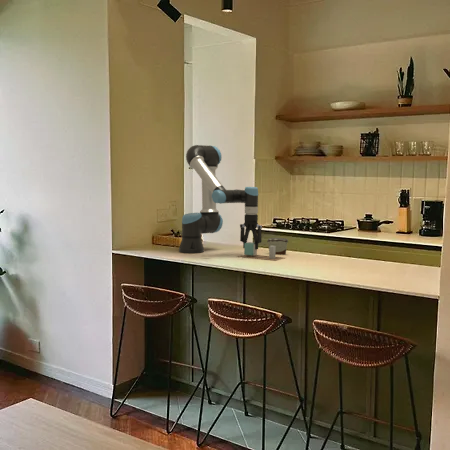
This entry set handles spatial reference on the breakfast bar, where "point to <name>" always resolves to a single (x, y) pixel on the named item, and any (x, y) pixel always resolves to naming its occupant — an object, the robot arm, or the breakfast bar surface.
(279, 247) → the food container
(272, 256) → the post
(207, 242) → the breakfast bar surface
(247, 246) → the teal rectangular block
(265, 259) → the board
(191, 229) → the robot arm
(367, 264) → the breakfast bar surface
